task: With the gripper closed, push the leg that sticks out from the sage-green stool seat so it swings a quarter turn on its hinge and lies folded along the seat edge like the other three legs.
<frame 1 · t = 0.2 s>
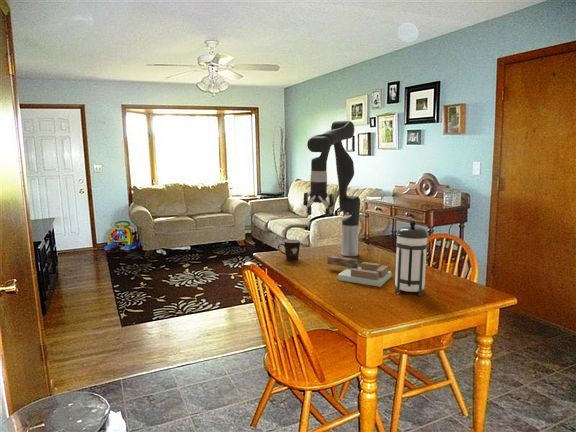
hand: (318, 215, 202), 28 cm above the table, tool pointing down, fingers open, 8 cm apart
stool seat: (364, 278, 201), on the table
coffee press: (410, 292, 182), on the table
hinged leg: (342, 261, 213), point 5 cm above the table, hinge at -90.0°
coffee mug: (289, 259, 235), on the table
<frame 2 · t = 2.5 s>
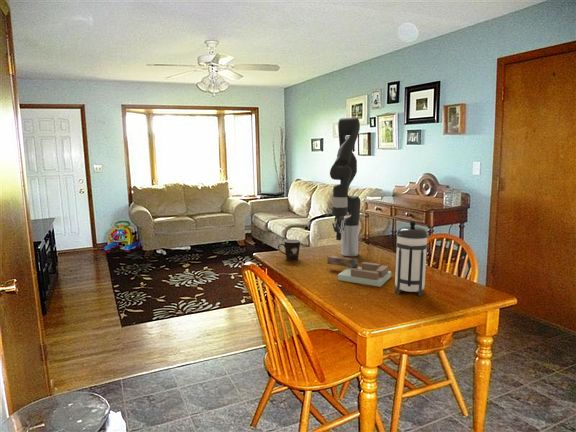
hand: (338, 239, 220), 14 cm above the table, tool pointing down, fingers closed
nothing on the table moved.
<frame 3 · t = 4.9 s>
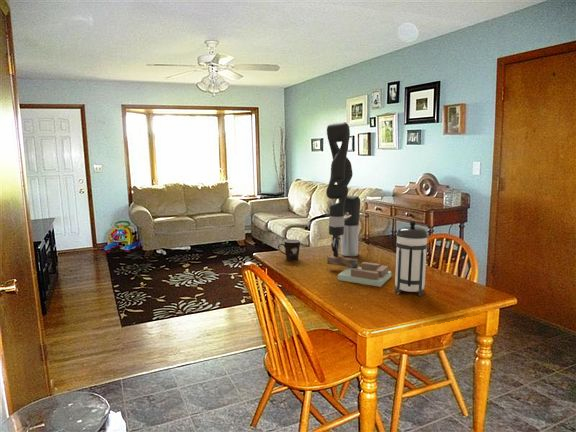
hand: (335, 258, 218), 5 cm above the table, tool pointing down, fingers closed
hinged leg: (342, 261, 213), point 5 cm above the table, hinge at -89.5°, touching gripper
everything else where it was.
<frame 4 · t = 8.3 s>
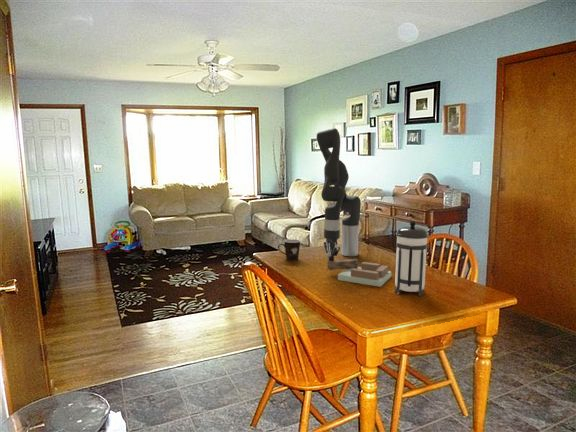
hand: (331, 263, 209), 5 cm above the table, tool pointing down, fingers closed
hinged leg: (343, 264, 208), point 5 cm above the table, hinge at -42.7°, touching gripper
everything else where it was.
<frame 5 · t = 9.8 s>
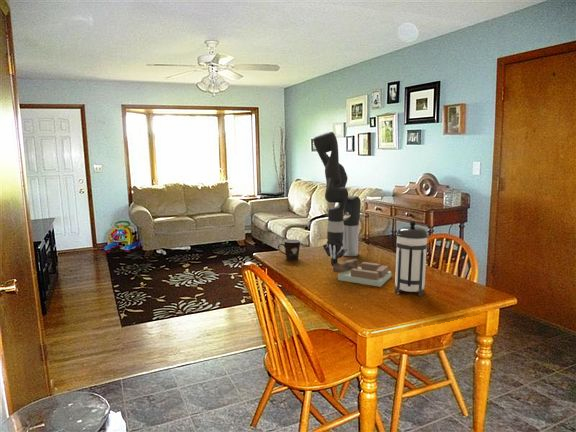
hand: (334, 265, 205), 5 cm above the table, tool pointing down, fingers closed
hinged leg: (346, 265, 206), point 5 cm above the table, hinge at -19.8°, touching gripper
everything else where it was.
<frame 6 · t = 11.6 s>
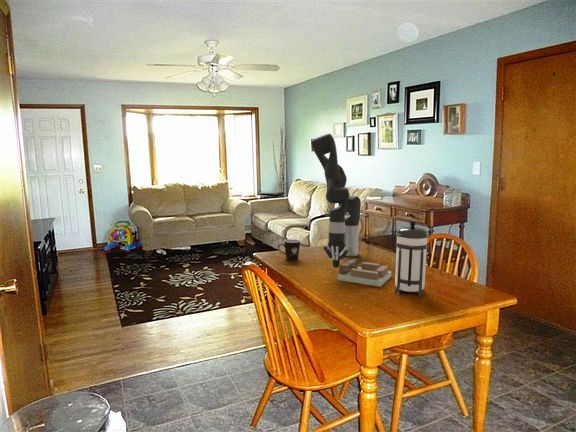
hand: (336, 267, 203), 4 cm above the table, tool pointing down, fingers closed
hinged leg: (349, 266, 205), point 5 cm above the table, hinge at -4.3°
everything else where it was.
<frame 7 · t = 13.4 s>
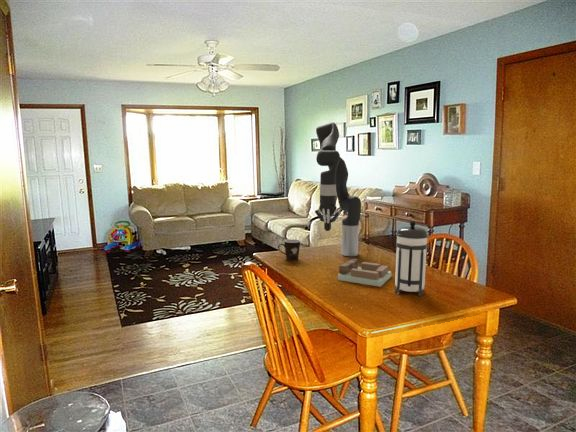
hand: (327, 230, 204), 21 cm above the table, tool pointing down, fingers closed
nothing on the table moved.
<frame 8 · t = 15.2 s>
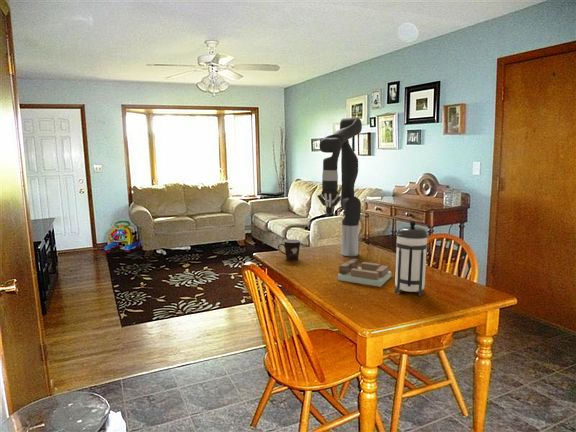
hand: (329, 214, 215), 27 cm above the table, tool pointing down, fingers closed
nothing on the table moved.
at the end: hinged leg at -4° (first picture: -90°) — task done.
